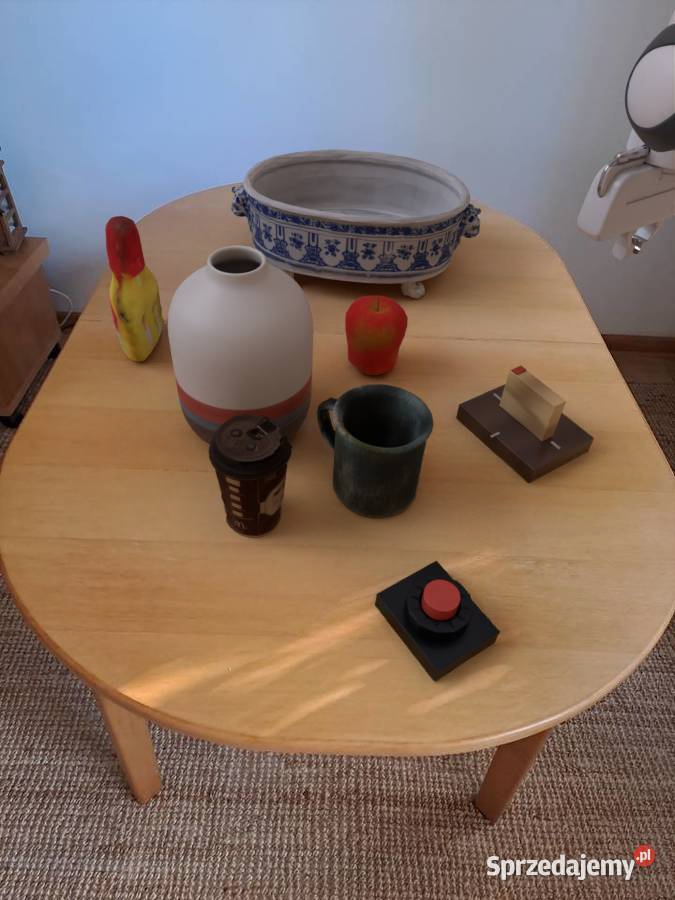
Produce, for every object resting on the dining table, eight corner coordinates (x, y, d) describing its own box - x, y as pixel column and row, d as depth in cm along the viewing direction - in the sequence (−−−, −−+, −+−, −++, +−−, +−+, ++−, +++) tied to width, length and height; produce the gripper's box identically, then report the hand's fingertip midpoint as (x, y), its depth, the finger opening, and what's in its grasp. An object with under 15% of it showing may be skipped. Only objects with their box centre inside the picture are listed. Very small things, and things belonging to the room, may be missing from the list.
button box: (495, 642, 68) (504, 622, 65) (434, 682, 65) (440, 662, 62) (433, 571, 74) (439, 550, 71) (374, 605, 70) (377, 583, 68)
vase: (291, 477, 83) (290, 315, 66) (162, 450, 85) (129, 287, 68) (324, 391, 94) (331, 235, 77) (210, 369, 96) (192, 213, 80)
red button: (464, 609, 66) (468, 600, 65) (436, 627, 65) (439, 617, 64) (441, 583, 68) (444, 573, 67) (414, 599, 67) (416, 589, 66)
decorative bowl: (217, 292, 110) (209, 205, 100) (246, 217, 129) (241, 137, 118) (475, 314, 109) (495, 228, 99) (466, 235, 128) (482, 156, 117)
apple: (332, 373, 97) (336, 303, 89) (357, 342, 103) (362, 274, 94) (387, 391, 95) (396, 321, 86) (409, 359, 100) (419, 291, 92)
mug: (384, 538, 77) (396, 467, 68) (289, 476, 83) (289, 403, 74) (436, 485, 83) (453, 413, 74) (344, 430, 89) (350, 358, 80)
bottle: (156, 370, 96) (131, 241, 81) (111, 368, 96) (79, 239, 81) (171, 322, 104) (152, 197, 90) (130, 320, 104) (104, 195, 90)
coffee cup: (292, 488, 81) (291, 408, 72) (293, 544, 75) (292, 465, 66) (219, 489, 81) (209, 409, 71) (215, 546, 75) (203, 466, 66)
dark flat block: (591, 449, 88) (598, 435, 87) (524, 485, 83) (530, 471, 82) (517, 390, 96) (521, 375, 94) (452, 419, 91) (455, 404, 89)
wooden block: (553, 436, 86) (567, 399, 82) (542, 441, 85) (555, 405, 81) (509, 400, 91) (521, 364, 86) (498, 405, 90) (509, 368, 85)
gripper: (633, 167, 67) (590, 288, 77) (753, 132, 75) (699, 245, 85) (585, 145, 70) (550, 263, 80) (704, 114, 79) (659, 224, 89)
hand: (628, 253), depth 83 cm, fingers closed
